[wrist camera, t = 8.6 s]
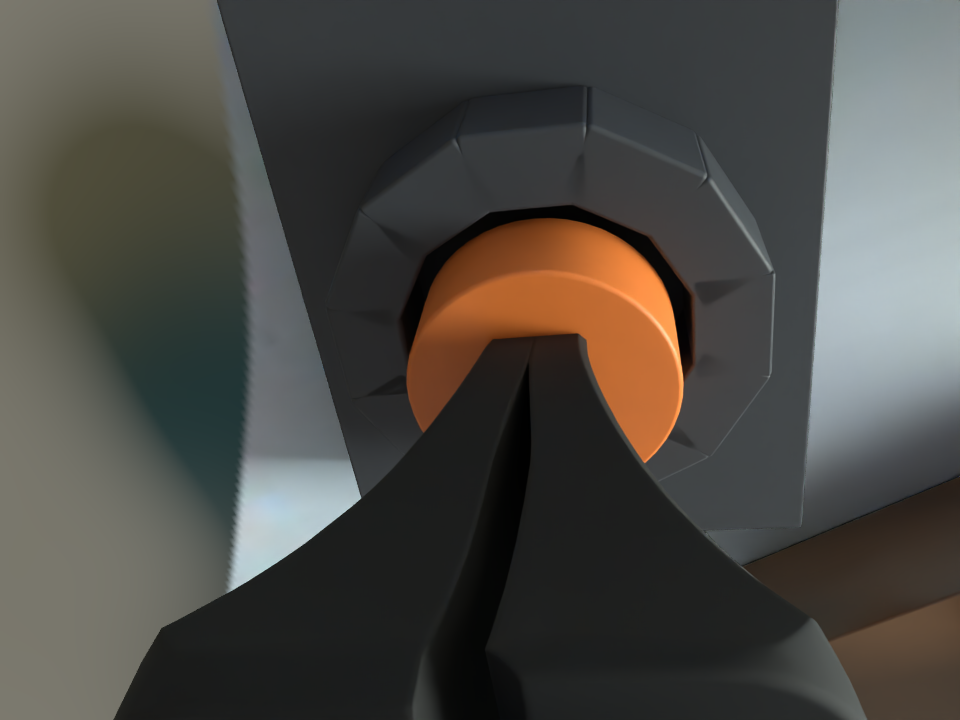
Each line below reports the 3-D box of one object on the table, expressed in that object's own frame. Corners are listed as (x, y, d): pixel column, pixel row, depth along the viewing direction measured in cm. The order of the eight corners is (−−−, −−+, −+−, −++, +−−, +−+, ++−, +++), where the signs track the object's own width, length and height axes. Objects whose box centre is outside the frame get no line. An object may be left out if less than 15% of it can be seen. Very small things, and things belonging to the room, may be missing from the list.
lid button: (676, 422, 15) (686, 492, 14) (445, 434, 16) (431, 502, 14) (670, 203, 13) (680, 260, 11) (402, 227, 13) (380, 284, 12)
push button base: (778, 443, 20) (821, 597, 16) (395, 461, 22) (355, 606, 18) (807, -161, 14) (889, -133, 10) (258, -76, 15) (150, -25, 11)
